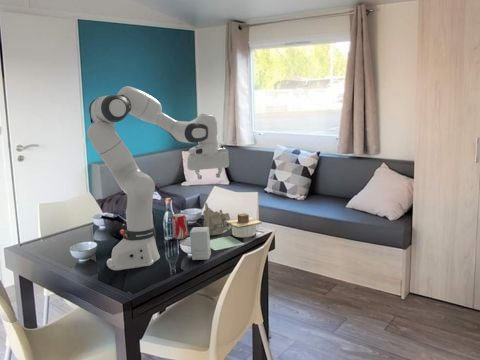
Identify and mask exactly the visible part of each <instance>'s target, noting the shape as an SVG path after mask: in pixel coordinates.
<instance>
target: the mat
mask: <svg viewBox="0 0 480 360" xmlns="http://www.w3.org/2000/svg"><path fill="white" fill-rule="evenodd" d="M241 245H245V243H244V242H242V241H240V240H238V239H237V238H235V237H234V236H231V235H227V236H222V237H217V238H214V239H212V238H211V239H210V249H212V250H214V251H219V250H224V249H229V248H232V247H233V248H234V247H238V246H241Z"/></svg>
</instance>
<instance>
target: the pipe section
mask: <svg viewBox="0 0 480 360" xmlns="http://www.w3.org/2000/svg"><path fill="white" fill-rule="evenodd" d="M231 232H232V233H231V234H232V237H234V238H235V237H236V238H250V237H253V236H255V235H256V234H257V227H256V225H253V226H248V227H243V228H236V227H234V226H232V225H231Z"/></svg>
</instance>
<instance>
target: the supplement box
mask: <svg viewBox="0 0 480 360" xmlns="http://www.w3.org/2000/svg"><path fill="white" fill-rule="evenodd" d="M210 236H211V235H209V227H204V226H202V227H199V226H198V227H197V226H196V227H192V228H191V230H190V232H189V240H190V251H191V252H190V253H191V259H192V261H195V260H197V261H199V260H205V261H206V260H209V259H210V257H211V254H212V250H211V249H212V248H210V240H211V239H210V238H211V237H210Z"/></svg>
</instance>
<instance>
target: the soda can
mask: <svg viewBox="0 0 480 360" xmlns="http://www.w3.org/2000/svg"><path fill="white" fill-rule="evenodd" d="M187 223H188V221H187V217H186V214H185V213H183V212H180V213H174V214H173V215H172V218H171V225H172V227H171V228H172V235H173V236H172V237H173V239H175V240H185V239H186V238H187V237H188V224H187ZM184 238H185V239H184Z"/></svg>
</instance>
